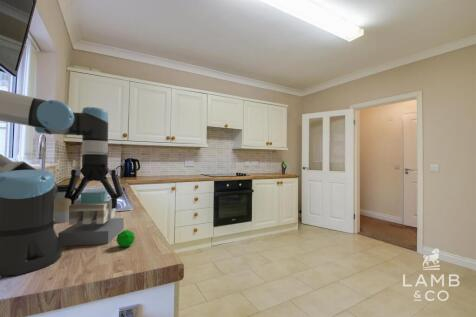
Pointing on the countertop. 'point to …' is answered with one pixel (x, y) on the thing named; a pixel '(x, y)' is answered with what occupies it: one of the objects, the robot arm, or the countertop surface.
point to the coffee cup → (62, 205)
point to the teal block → (93, 196)
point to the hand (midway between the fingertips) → (94, 218)
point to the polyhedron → (125, 238)
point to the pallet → (89, 213)
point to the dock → (91, 233)
